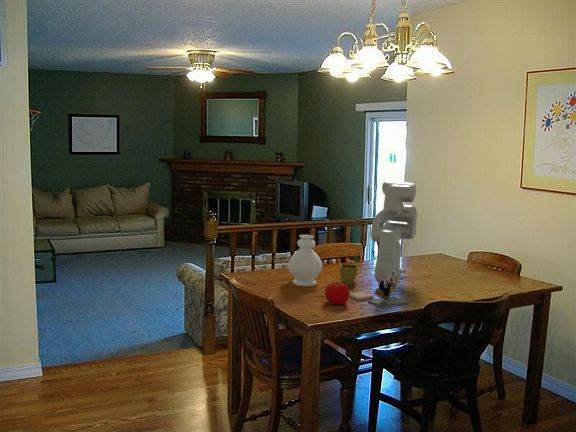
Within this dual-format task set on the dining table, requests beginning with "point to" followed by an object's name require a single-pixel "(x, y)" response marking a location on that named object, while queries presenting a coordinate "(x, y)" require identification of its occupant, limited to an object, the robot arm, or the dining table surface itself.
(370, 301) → the trivet
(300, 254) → the decorative vase
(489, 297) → the dining table surface
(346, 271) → the flower pot
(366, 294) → the tile
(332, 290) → the tomato
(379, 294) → the turner
